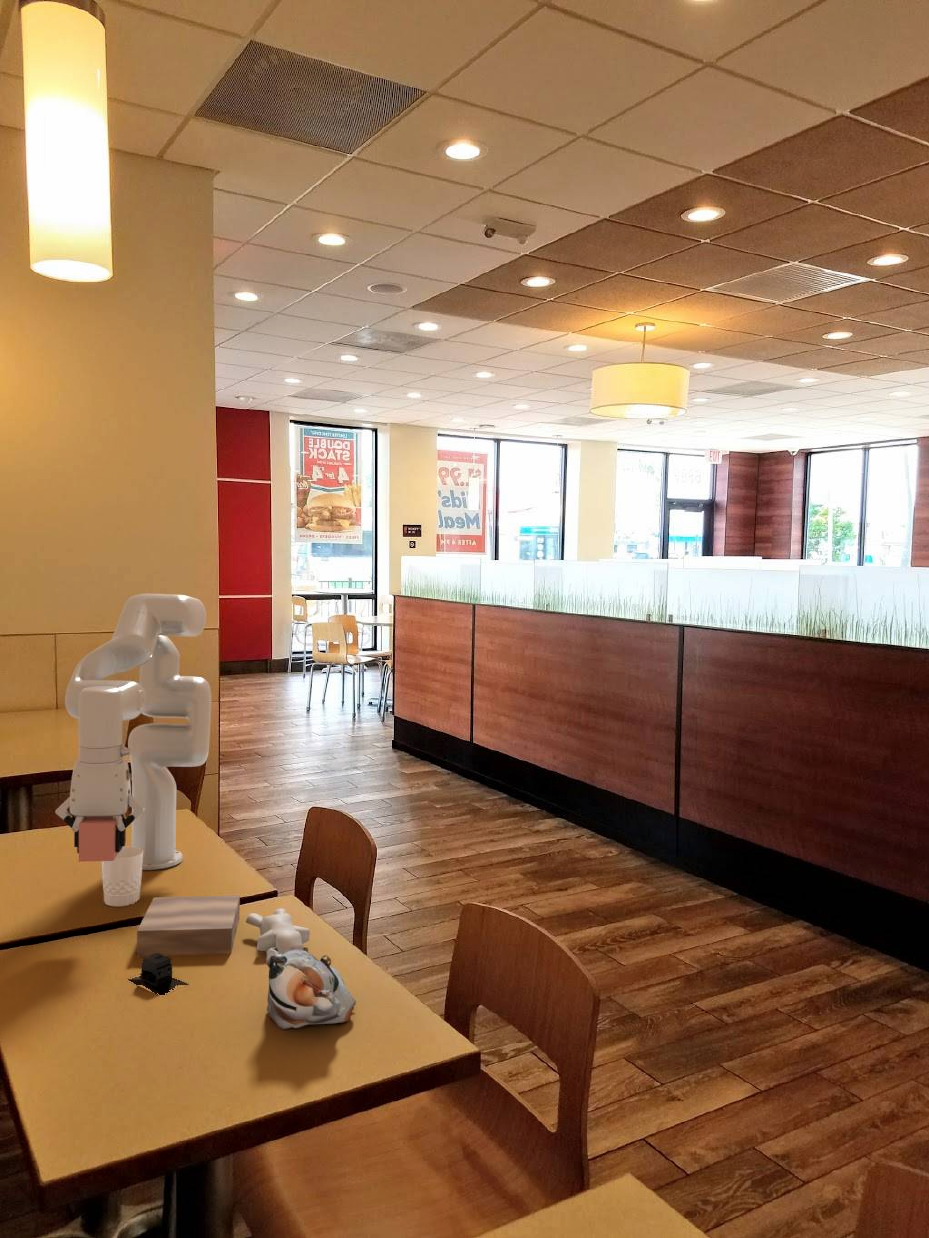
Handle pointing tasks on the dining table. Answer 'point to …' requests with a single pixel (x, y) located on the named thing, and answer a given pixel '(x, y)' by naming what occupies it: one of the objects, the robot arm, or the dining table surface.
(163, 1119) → the dining table surface
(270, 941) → the bunny figurine
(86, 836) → the red block
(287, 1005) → the lucky cat figurine
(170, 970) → the black boxy gadget
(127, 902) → the white cup
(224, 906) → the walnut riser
